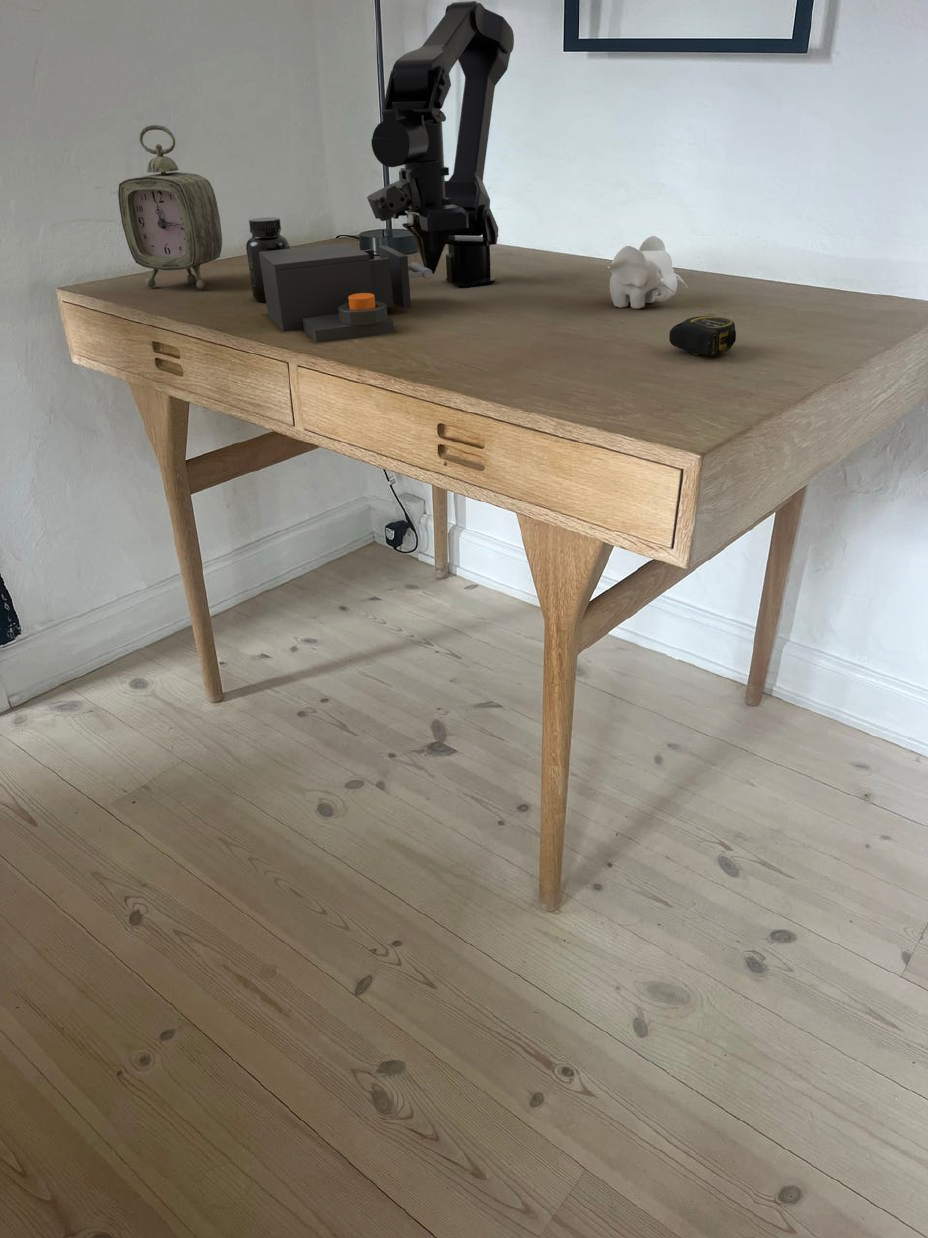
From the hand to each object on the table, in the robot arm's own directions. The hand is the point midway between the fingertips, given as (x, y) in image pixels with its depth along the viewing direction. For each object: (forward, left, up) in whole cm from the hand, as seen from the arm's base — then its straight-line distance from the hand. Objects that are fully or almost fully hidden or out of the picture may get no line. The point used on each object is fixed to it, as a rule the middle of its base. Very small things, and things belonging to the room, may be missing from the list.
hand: (430, 273), depth 140 cm
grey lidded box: (+18, 0, -4) cm, 18 cm away
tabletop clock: (+33, -36, -4) cm, 49 cm away
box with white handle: (+9, 0, -4) cm, 10 cm away
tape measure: (-20, +44, -5) cm, 48 cm away
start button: (+14, +12, -1) cm, 18 cm away
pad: (+16, +10, -4) cm, 20 cm away
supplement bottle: (+21, -17, -4) cm, 28 cm away
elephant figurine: (-27, +18, -4) cm, 33 cm away
